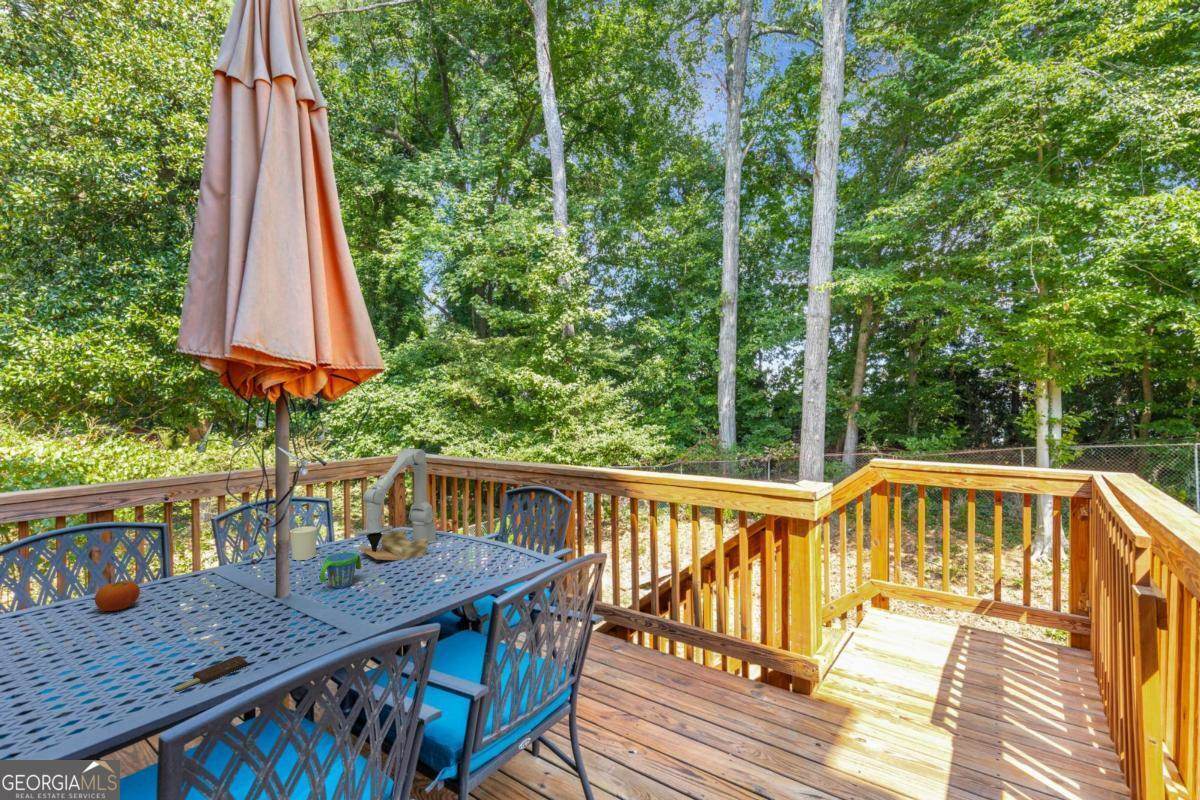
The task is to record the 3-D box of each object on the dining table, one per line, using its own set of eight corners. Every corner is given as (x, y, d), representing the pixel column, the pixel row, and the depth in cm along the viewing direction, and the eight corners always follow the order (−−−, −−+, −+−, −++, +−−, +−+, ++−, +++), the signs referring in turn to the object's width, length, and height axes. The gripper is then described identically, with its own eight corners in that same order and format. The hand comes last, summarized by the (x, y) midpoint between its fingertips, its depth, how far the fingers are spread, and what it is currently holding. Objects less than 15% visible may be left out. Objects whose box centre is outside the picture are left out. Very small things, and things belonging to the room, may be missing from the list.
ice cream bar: (180, 696, 118) (250, 666, 131) (180, 689, 118) (251, 659, 131) (168, 690, 120) (239, 661, 134) (168, 683, 120) (239, 654, 134)
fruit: (94, 608, 164) (94, 582, 164) (138, 599, 172) (138, 575, 172) (95, 618, 157) (95, 592, 157) (141, 609, 164) (141, 583, 164)
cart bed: (404, 545, 235) (405, 529, 235) (427, 555, 220) (427, 539, 220) (381, 550, 228) (381, 534, 228) (403, 561, 213) (403, 543, 213)
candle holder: (314, 553, 222) (314, 525, 222) (319, 559, 215) (319, 529, 215) (287, 557, 216) (288, 528, 216) (292, 563, 208) (292, 533, 208)
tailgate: (380, 548, 226) (359, 546, 220) (398, 557, 213) (377, 556, 207) (379, 550, 225) (358, 549, 219) (398, 560, 213) (376, 559, 207)
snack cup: (329, 595, 177) (329, 565, 176) (311, 589, 182) (311, 560, 182) (370, 581, 190) (370, 553, 190) (351, 576, 195) (352, 548, 195)
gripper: (359, 523, 207) (359, 557, 207) (395, 517, 217) (395, 549, 217) (352, 520, 212) (352, 553, 212) (388, 514, 222) (388, 546, 222)
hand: (374, 551), depth 215 cm, fingers closed, pressing on tailgate
